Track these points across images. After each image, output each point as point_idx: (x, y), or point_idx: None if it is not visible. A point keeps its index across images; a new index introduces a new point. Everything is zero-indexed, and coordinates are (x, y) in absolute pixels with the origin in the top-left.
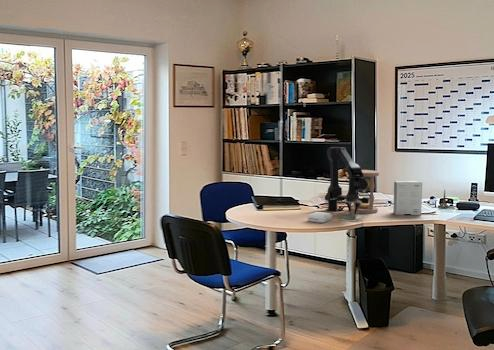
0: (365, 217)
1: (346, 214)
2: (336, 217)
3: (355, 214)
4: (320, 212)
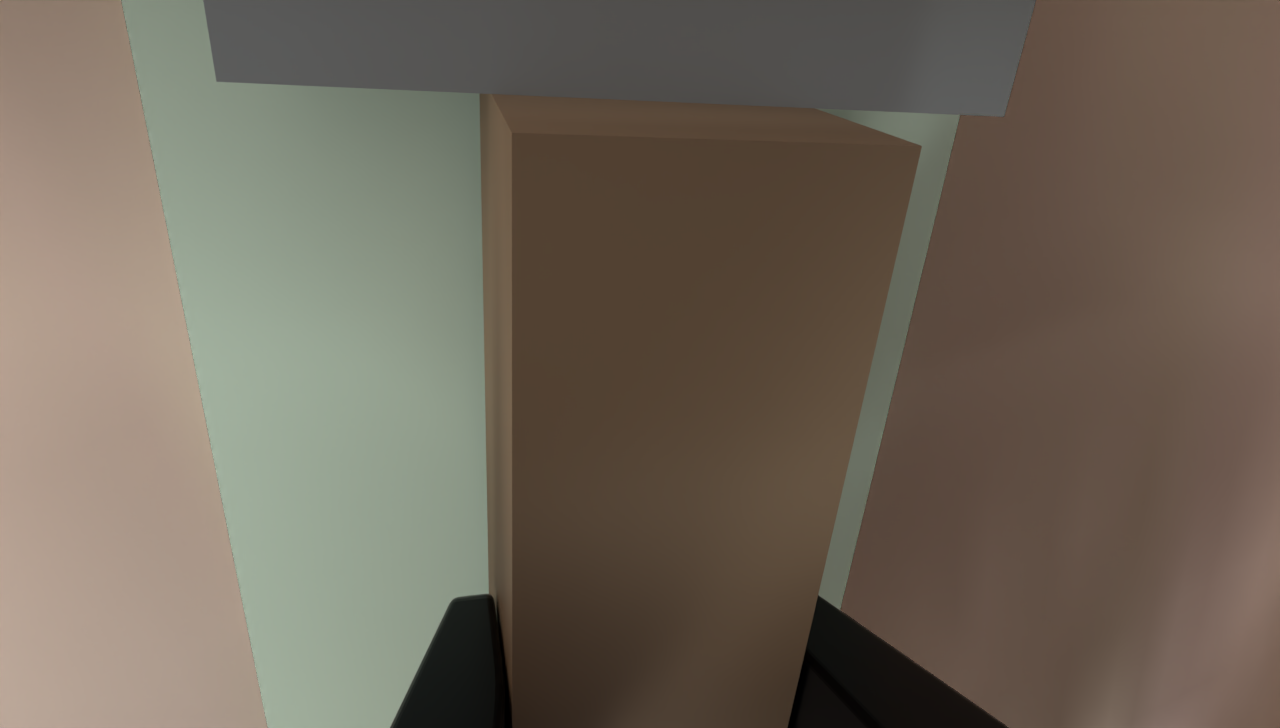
0: (12, 713)
1: (948, 93)
2: (1240, 95)
3: None
4: None
